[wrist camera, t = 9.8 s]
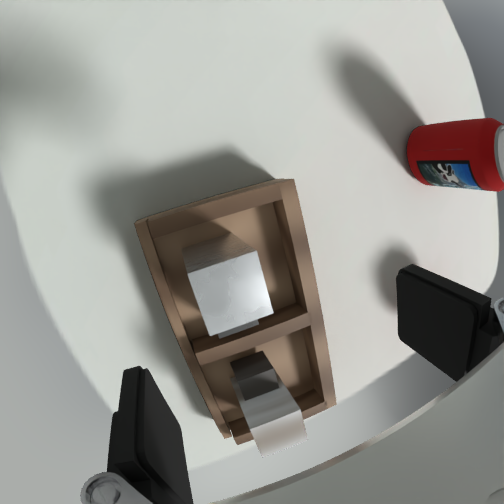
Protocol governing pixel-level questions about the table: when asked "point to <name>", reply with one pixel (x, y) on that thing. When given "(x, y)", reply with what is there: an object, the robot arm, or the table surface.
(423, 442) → the robot arm
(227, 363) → the wooden divided tray
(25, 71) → the table surface
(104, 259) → the table surface
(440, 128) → the beverage can
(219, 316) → the grey block
